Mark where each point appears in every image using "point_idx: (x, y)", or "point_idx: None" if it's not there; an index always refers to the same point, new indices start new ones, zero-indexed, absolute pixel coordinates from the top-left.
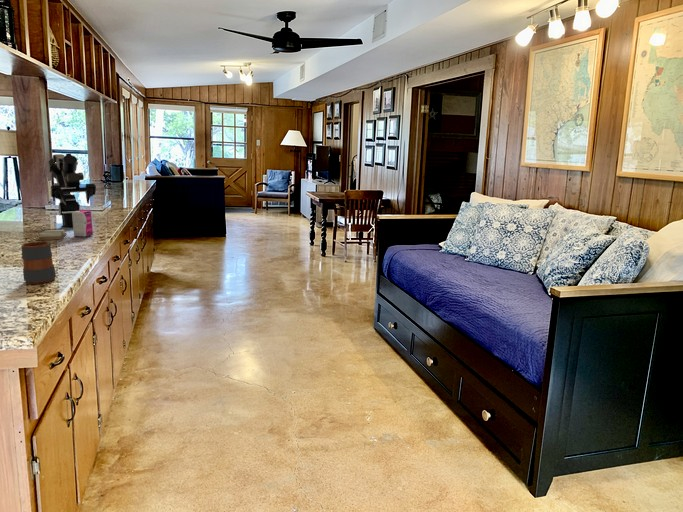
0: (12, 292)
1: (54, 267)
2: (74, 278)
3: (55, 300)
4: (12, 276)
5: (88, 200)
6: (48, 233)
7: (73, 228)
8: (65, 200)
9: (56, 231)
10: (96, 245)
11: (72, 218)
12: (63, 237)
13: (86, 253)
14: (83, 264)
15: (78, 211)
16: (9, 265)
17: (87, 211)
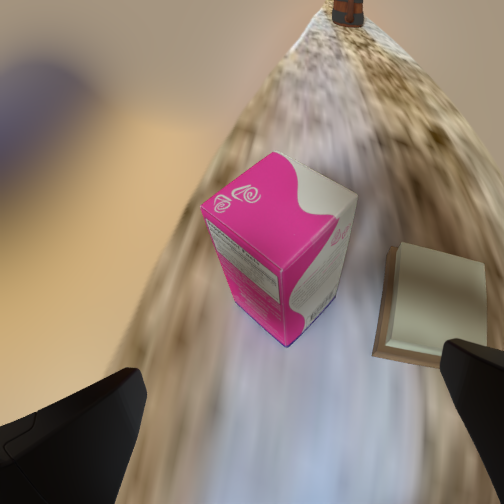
0: (364, 18)
1: (332, 10)
2: (313, 20)
3: (324, 6)
4: (385, 38)
5: (109, 380)
6: (452, 255)
7: (340, 271)
8: (485, 355)
9: (427, 288)
10: (263, 114)
11: (350, 230)
12: (385, 280)
13: (296, 70)
14: (303, 38)
15: (304, 194)
16: (416, 66)
17: (233, 180)
